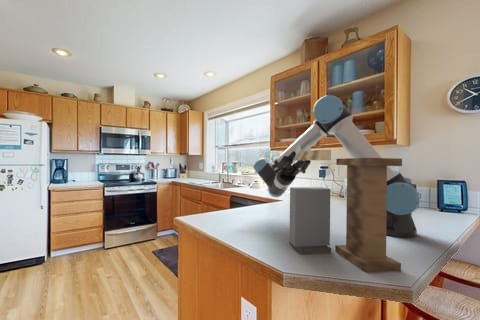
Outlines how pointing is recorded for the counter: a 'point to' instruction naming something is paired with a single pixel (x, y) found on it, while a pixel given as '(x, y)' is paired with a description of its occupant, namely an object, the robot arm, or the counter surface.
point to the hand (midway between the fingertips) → (304, 148)
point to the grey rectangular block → (310, 220)
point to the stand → (367, 214)
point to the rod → (315, 155)
